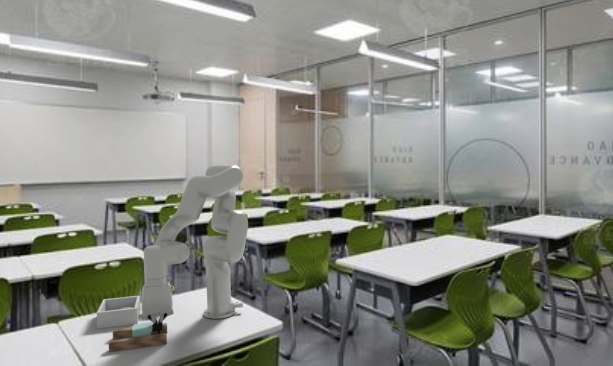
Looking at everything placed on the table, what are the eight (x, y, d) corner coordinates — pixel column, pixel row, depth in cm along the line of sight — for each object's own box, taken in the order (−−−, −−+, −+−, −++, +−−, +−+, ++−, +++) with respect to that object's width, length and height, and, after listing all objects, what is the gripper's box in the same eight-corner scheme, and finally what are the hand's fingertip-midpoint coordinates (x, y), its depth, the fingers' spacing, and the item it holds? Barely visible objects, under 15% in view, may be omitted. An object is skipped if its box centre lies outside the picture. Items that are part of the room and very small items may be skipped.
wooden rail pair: (167, 330, 155) (166, 320, 155) (166, 344, 144) (166, 332, 144) (113, 337, 150) (113, 326, 149) (109, 352, 139) (108, 340, 138)
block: (152, 335, 151) (151, 322, 151) (151, 342, 145) (150, 328, 145) (134, 338, 149) (133, 324, 149) (132, 345, 143) (132, 330, 143)
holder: (140, 309, 178) (140, 295, 177) (137, 323, 162) (136, 308, 162) (104, 313, 174) (103, 299, 173) (97, 328, 158) (96, 312, 158)
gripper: (178, 276, 153) (180, 325, 154) (134, 280, 149) (136, 331, 150) (178, 281, 146) (180, 333, 147) (132, 286, 142) (134, 340, 143)
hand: (158, 332), depth 149 cm, fingers closed
